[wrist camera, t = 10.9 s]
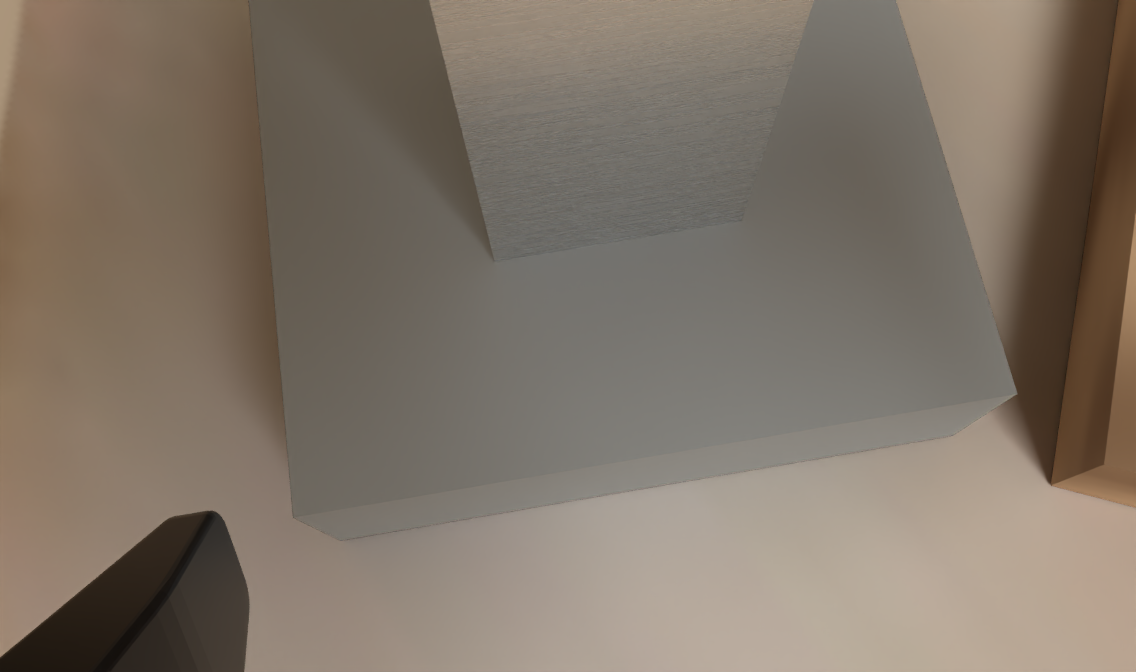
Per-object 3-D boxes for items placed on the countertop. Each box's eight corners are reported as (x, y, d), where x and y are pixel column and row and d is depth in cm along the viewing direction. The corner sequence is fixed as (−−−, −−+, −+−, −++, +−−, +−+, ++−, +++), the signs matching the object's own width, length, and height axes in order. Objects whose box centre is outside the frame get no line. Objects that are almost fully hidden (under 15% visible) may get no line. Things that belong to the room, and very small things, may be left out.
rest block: (952, 435, 18) (1017, 393, 16) (340, 540, 18) (292, 517, 15) (807, -71, 22) (839, -182, 19) (288, 11, 22) (241, -89, 19)
